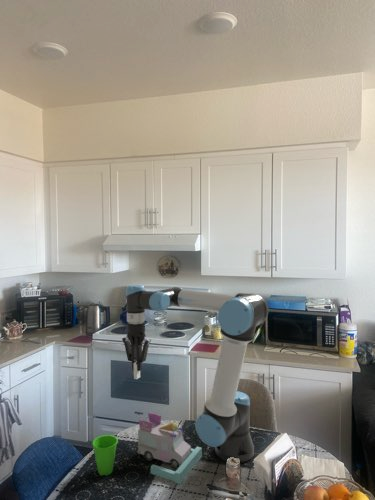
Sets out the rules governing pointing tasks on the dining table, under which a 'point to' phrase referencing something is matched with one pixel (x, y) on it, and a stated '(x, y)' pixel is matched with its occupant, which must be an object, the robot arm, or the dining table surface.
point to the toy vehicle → (162, 441)
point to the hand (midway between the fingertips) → (137, 377)
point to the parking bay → (182, 470)
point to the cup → (105, 453)
